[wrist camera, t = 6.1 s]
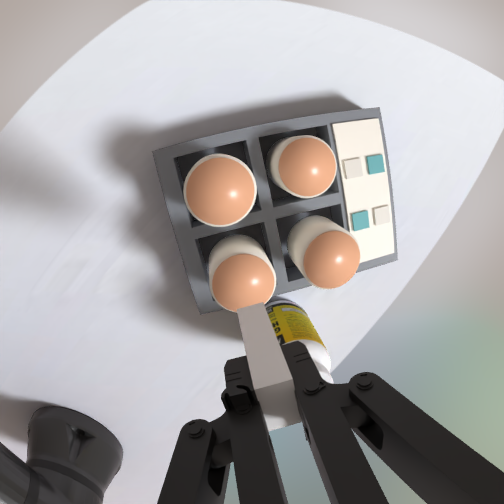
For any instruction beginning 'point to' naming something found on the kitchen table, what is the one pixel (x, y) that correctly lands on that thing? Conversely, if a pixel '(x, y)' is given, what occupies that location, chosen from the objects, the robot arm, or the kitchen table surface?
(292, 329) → the pill bottle
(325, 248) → the button
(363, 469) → the robot arm
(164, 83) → the kitchen table surface
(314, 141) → the button
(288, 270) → the board
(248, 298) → the button
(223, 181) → the button
